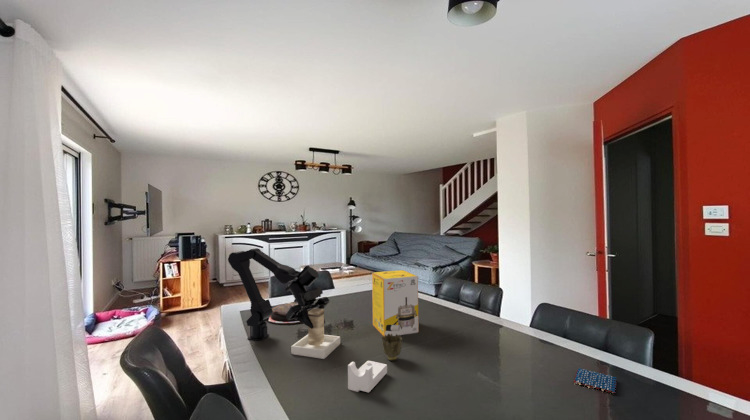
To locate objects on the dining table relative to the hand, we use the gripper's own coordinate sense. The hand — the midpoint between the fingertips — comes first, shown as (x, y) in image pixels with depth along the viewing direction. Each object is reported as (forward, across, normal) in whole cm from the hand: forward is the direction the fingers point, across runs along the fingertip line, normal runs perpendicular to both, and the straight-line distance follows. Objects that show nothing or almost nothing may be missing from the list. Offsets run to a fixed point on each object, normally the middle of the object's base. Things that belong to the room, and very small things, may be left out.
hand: (318, 325), depth 125 cm
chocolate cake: (-23, +20, +37) cm, 48 cm away
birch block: (+4, 0, +6) cm, 7 cm away
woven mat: (+68, +35, -55) cm, 94 cm away
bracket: (+28, -6, -15) cm, 33 cm away
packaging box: (+14, +36, -1) cm, 39 cm away
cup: (+26, +11, -13) cm, 31 cm away
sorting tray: (+6, 0, +8) cm, 9 cm away
